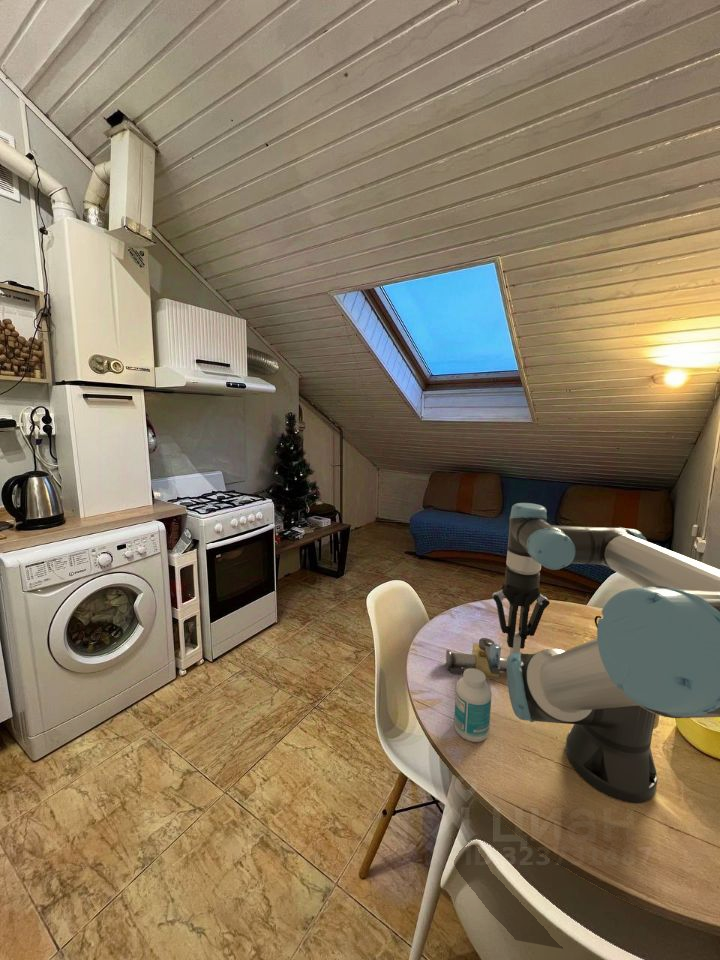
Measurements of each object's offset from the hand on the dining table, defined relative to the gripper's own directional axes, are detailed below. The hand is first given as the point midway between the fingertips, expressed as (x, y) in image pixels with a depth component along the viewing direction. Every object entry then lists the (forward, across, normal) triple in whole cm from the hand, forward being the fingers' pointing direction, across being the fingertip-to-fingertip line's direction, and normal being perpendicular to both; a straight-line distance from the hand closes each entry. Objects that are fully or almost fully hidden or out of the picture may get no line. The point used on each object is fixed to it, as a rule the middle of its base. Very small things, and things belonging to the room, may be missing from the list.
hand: (514, 658), depth 92 cm
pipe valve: (+10, +5, -8) cm, 14 cm away
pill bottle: (+10, +11, +13) cm, 20 cm away
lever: (+3, +5, -4) cm, 7 cm away
